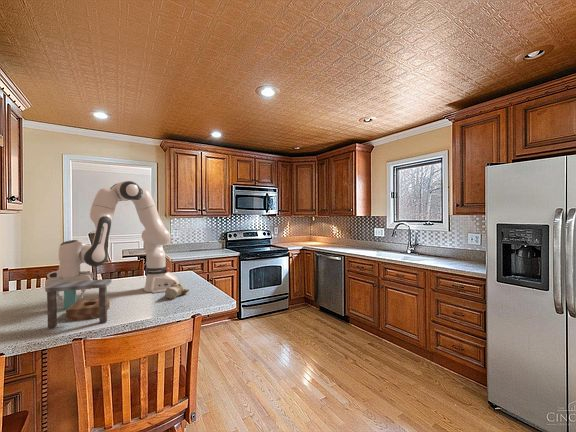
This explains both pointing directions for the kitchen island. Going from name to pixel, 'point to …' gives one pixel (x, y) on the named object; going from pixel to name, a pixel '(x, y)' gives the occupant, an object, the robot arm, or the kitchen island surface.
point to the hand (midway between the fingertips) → (70, 298)
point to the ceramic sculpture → (175, 290)
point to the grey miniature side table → (79, 308)
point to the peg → (69, 298)
